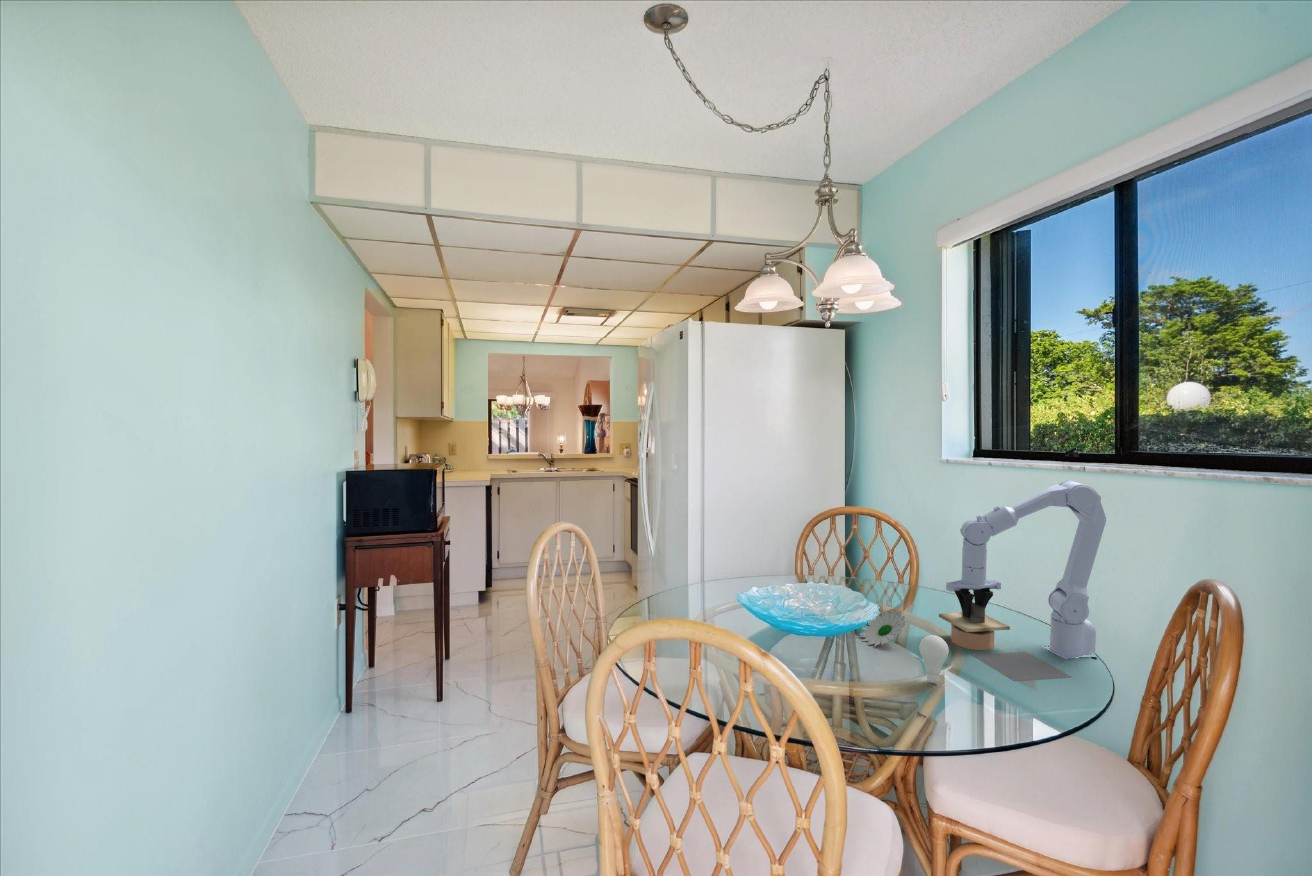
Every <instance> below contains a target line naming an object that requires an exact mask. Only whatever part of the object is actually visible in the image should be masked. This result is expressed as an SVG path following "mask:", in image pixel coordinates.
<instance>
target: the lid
mask: <svg viewBox="0 0 1312 876" xmlns="http://www.w3.org/2000/svg"><path fill="white" fill-rule="evenodd" d="M938 618H940V619H942V620H944V621H946V622H947V623H950V625H951V624H953V625H955V626H957V627H959V628H961V629H962V630H964V631H966V632H977V631H994V632H995V631H1008V630H1011V626H1009V625H1008V624H1005V623H1003V622H1001V621H999V620H998V619H996V618H993V617H990V616H989V615H987V614H986V608H985V607H982V606H980V605H978V604H976V603H975V601H974V602H973V601H972V605H971V616H970V618H966V617H964V616H963V613H962V612H950V613H949V612H947V613H938Z"/></svg>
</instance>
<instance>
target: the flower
mask: <svg viewBox="0 0 1312 876" xmlns="http://www.w3.org/2000/svg"><path fill="white" fill-rule="evenodd" d="M880 613H881V615H878V614H877V615H878V616H877V617H876V618H875V617H874V619H872V620H873V621H871V622H870V623H868V624H867V626H862V627H861V629H862V630H864V631H863V632H860V633H859V638H860V637H861V638H862V637H863V638H864V639H862V640H861V642H866V645H867V646H871V645H874V648H875V647H876V646H878V645H881V646H883V645H886V644H887V643H888V642H889V641H893V640H895V639H896V638H897V635H900V634H901V633H902V632H903V630H902V629H903V628H904V627H905V625H906V621H904V620H905V617H906V616H905V615H903V616H902V612H901V611H899V610H898V611H897V612H895V610H894V609H891V610H890V612H889V611H887V610H883V611H881V612H880Z"/></svg>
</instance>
